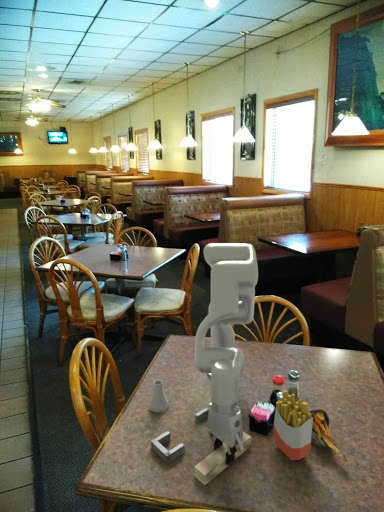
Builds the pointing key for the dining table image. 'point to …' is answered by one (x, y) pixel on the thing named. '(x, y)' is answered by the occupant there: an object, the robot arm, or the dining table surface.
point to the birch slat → (217, 461)
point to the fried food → (323, 431)
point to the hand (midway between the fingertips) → (224, 456)
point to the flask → (159, 398)
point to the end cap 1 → (163, 452)
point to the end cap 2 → (202, 414)
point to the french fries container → (293, 427)
